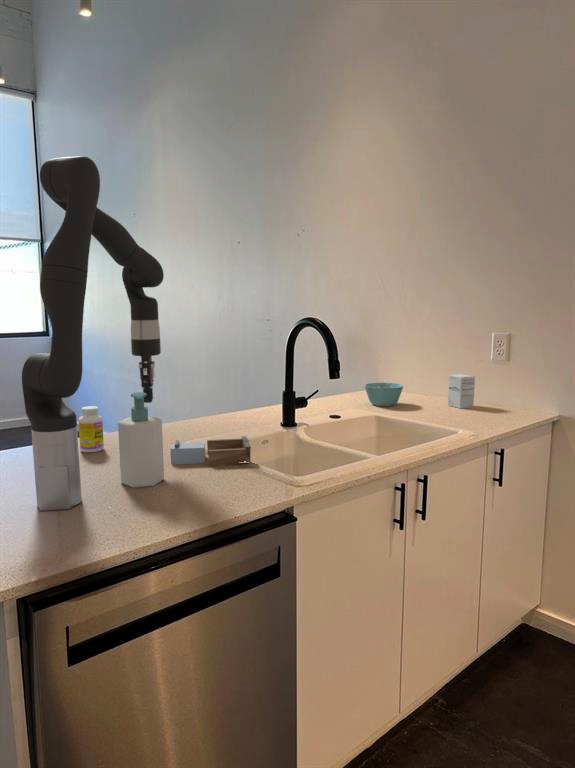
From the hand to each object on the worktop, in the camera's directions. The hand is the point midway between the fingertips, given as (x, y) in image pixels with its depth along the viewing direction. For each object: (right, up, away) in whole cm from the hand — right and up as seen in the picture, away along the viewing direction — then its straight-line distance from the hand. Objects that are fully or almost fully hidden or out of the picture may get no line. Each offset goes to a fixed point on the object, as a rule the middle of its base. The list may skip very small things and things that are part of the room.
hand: (148, 401), depth 155 cm
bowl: (+77, -4, +82) cm, 112 cm away
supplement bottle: (-20, -15, +15) cm, 30 cm away
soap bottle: (+2, -20, -13) cm, 24 cm away
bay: (+20, -16, +6) cm, 27 cm away
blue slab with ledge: (+10, -17, +4) cm, 20 cm away
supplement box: (+107, -5, +77) cm, 132 cm away
